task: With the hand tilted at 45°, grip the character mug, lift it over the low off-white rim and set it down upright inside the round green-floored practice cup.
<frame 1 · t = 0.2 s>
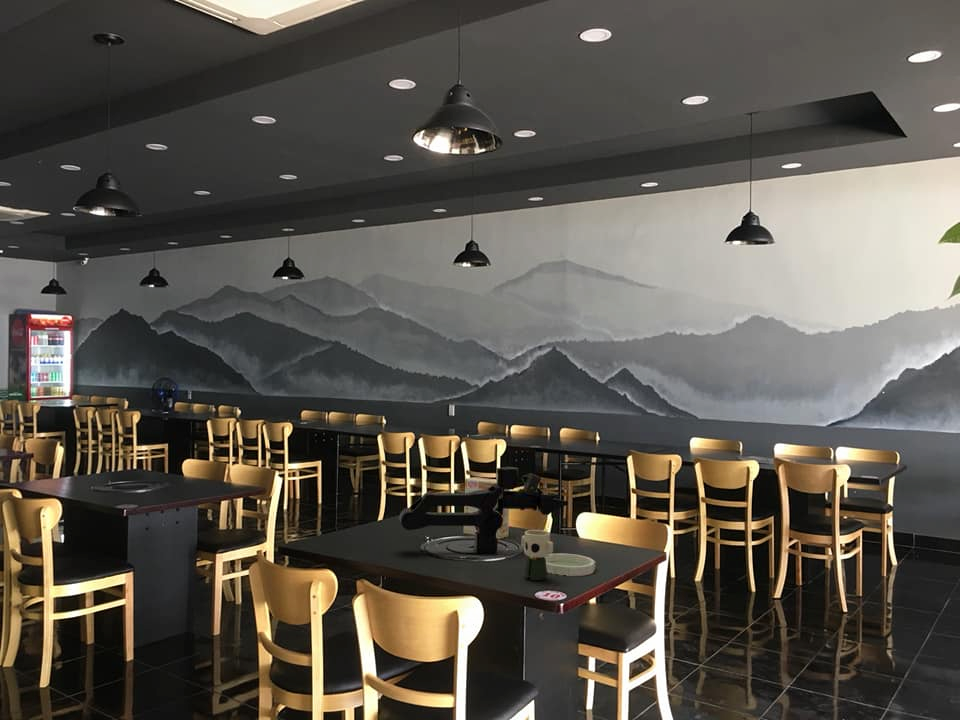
hand: (563, 500, 244), 17 cm above the table, tool horizontal, fingers open, 9 cm apart
coffeecake box: (485, 535, 266), on the table
character mug: (535, 579, 210), on the table
practice cup: (566, 568, 223), on the table
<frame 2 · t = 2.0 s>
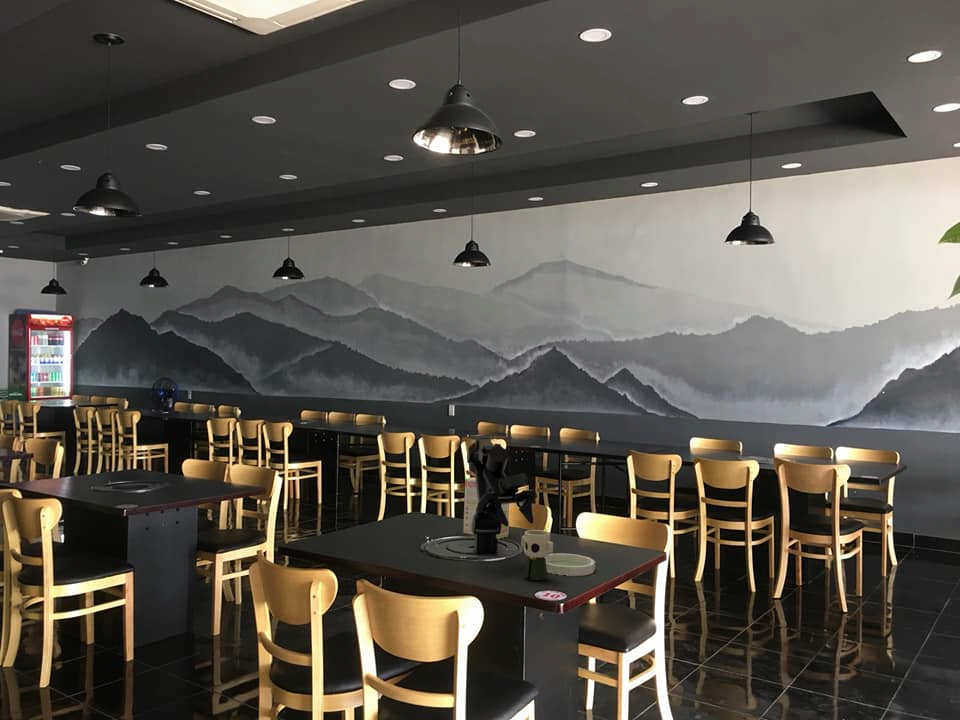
hand: (520, 524, 217), 14 cm above the table, tool tilted 45°, fingers open, 9 cm apart
nothing on the table moved.
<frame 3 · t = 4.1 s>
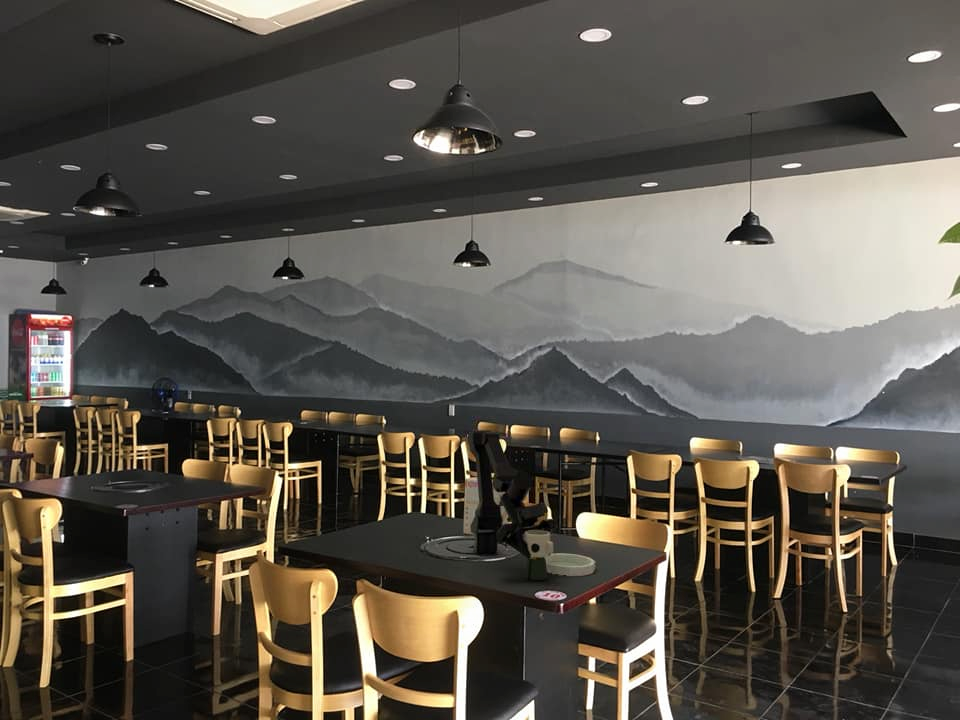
hand: (539, 556, 209), 7 cm above the table, tool tilted 45°, fingers closed on character mug, 7 cm apart
character mug: (535, 579, 210), on the table, touching gripper
everything else where it was.
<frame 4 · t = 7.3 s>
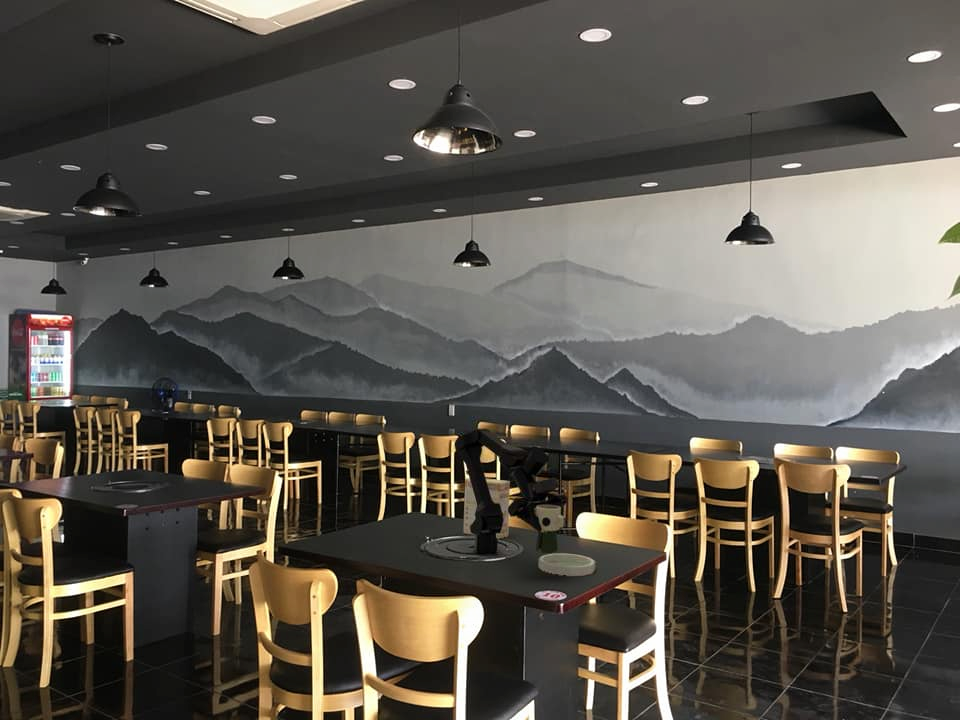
hand: (550, 529, 214), 13 cm above the table, tool tilted 45°, fingers closed on character mug, 7 cm apart
character mug: (546, 553, 215), point 6 cm above the table, touching gripper
everything else where it was.
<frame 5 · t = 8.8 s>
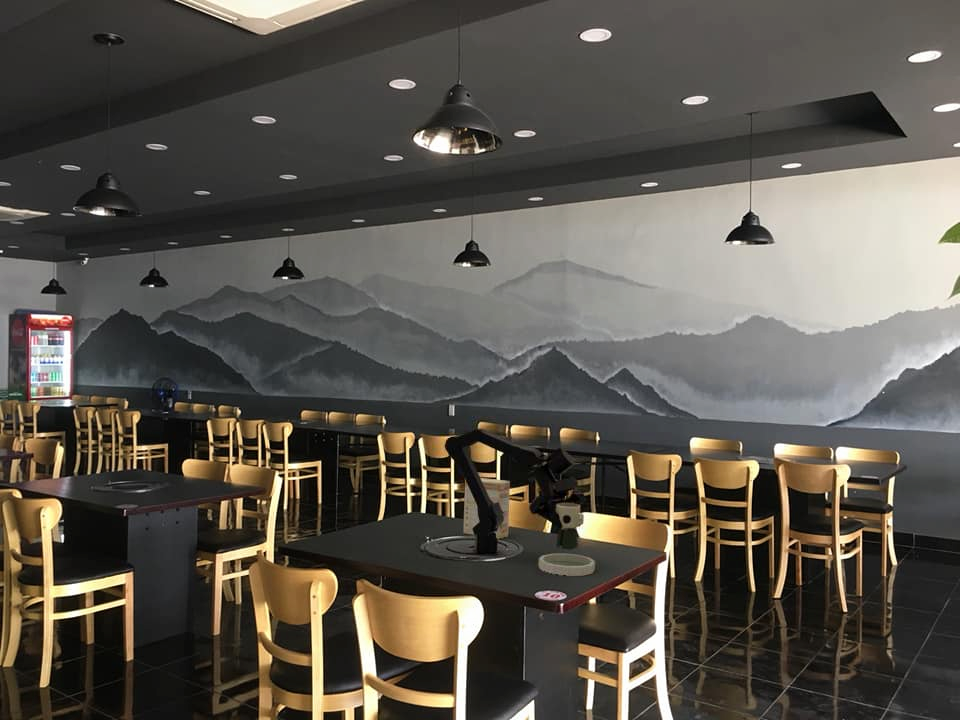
hand: (570, 526, 222), 13 cm above the table, tool tilted 45°, fingers closed on character mug, 7 cm apart
character mug: (566, 549, 223), point 6 cm above the table, touching gripper
everything else where it was.
when the fingers open (8 cm above the table, at t = 10.3 s): character mug stays where it is, resting on practice cup.
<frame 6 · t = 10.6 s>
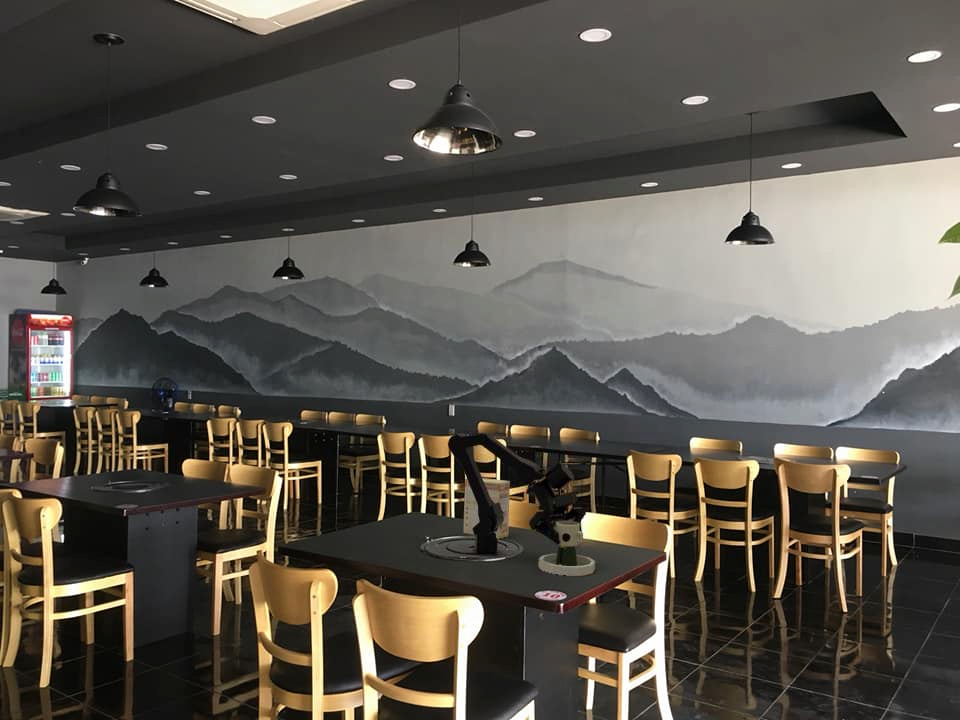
hand: (570, 542, 222), 8 cm above the table, tool tilted 45°, fingers open, 9 cm apart
character mug: (566, 567, 223), resting on practice cup
everything else where it was.
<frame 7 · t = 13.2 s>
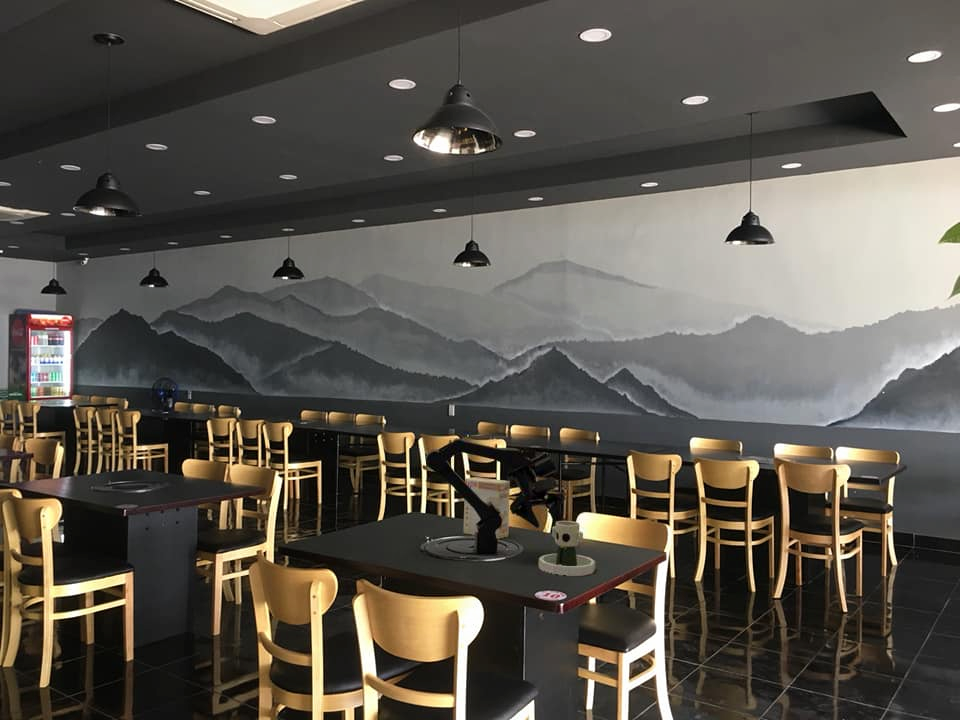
hand: (549, 525, 230), 11 cm above the table, tool tilted 45°, fingers open, 9 cm apart
nothing on the table moved.
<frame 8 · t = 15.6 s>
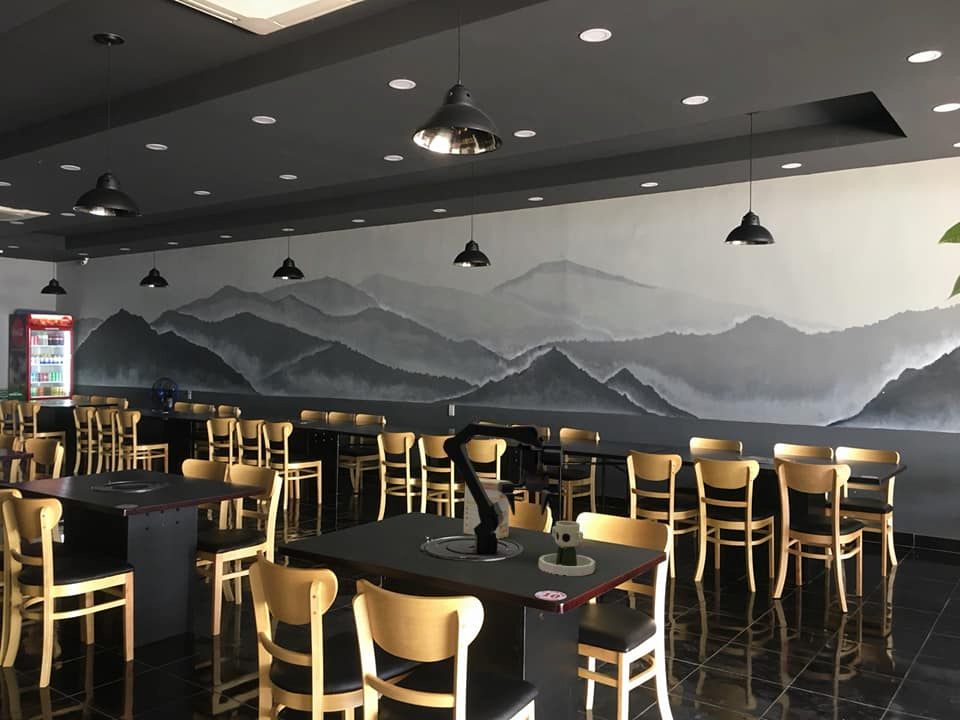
hand: (528, 515, 236), 13 cm above the table, tool pointing down, fingers open, 9 cm apart
nothing on the table moved.
at the end: character mug inside the target area on the practice cup (0.2 cm from its centre), point 0.2 cm above the practice cup's base; character mug tilted 0°; the gripper is holding nothing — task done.
